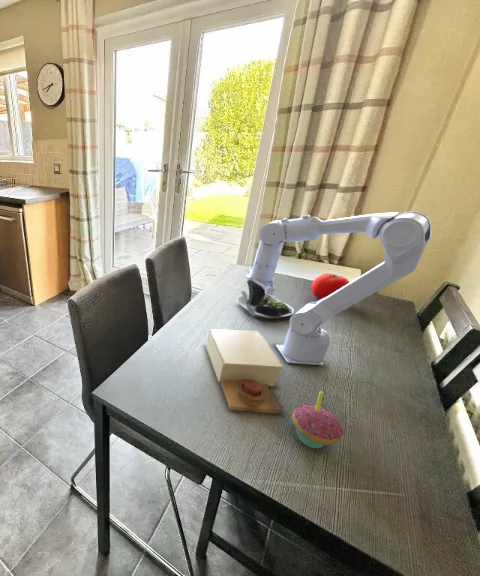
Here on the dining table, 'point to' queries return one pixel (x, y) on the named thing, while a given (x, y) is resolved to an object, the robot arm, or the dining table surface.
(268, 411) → the wooden base board
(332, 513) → the dining table surface
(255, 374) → the bin
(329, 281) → the tomato
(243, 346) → the lid
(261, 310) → the salad plate
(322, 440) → the cupcake
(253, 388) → the button
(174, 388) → the dining table surface
